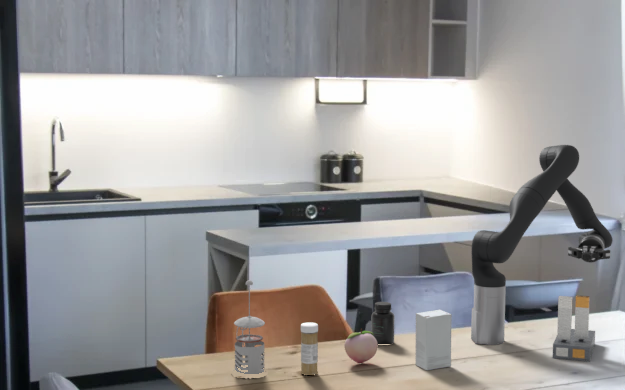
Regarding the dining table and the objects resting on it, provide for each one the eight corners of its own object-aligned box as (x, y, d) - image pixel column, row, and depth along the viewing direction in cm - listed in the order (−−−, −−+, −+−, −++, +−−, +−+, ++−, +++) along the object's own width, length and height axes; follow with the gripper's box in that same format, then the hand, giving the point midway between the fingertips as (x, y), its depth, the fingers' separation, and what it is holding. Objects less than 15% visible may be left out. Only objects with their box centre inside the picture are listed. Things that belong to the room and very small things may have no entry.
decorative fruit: (362, 371, 246) (362, 334, 245) (339, 365, 252) (339, 329, 251) (384, 363, 253) (384, 328, 252) (361, 358, 259) (361, 323, 258)
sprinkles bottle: (310, 370, 247) (310, 321, 245) (321, 374, 243) (321, 324, 242) (297, 373, 244) (297, 323, 242) (307, 377, 240) (308, 326, 239)
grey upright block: (570, 339, 261) (571, 298, 260) (557, 338, 263) (558, 297, 261) (570, 338, 263) (572, 296, 262) (558, 337, 264) (559, 295, 263)
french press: (239, 381, 237) (239, 285, 234) (222, 369, 247) (222, 277, 245) (274, 376, 241) (274, 281, 239) (256, 365, 252) (256, 274, 249)
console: (589, 361, 256) (590, 346, 255) (552, 358, 259) (552, 343, 259) (594, 344, 275) (595, 329, 274) (560, 340, 278) (560, 326, 278)
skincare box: (439, 361, 255) (440, 308, 254) (452, 367, 250) (453, 313, 249) (413, 365, 252) (414, 311, 250) (425, 371, 246) (426, 316, 245)
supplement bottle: (382, 338, 280) (382, 299, 279) (398, 343, 275) (399, 303, 274) (366, 342, 275) (366, 303, 274) (383, 347, 270) (383, 307, 269)
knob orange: (587, 339, 262) (588, 297, 261) (574, 338, 263) (575, 296, 262) (588, 337, 264) (589, 296, 263) (575, 336, 265) (576, 295, 264)
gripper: (569, 235, 291) (564, 243, 275) (614, 238, 286) (610, 246, 270) (568, 258, 292) (562, 268, 276) (612, 261, 287) (609, 272, 271)
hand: (586, 257), depth 273 cm, fingers closed
